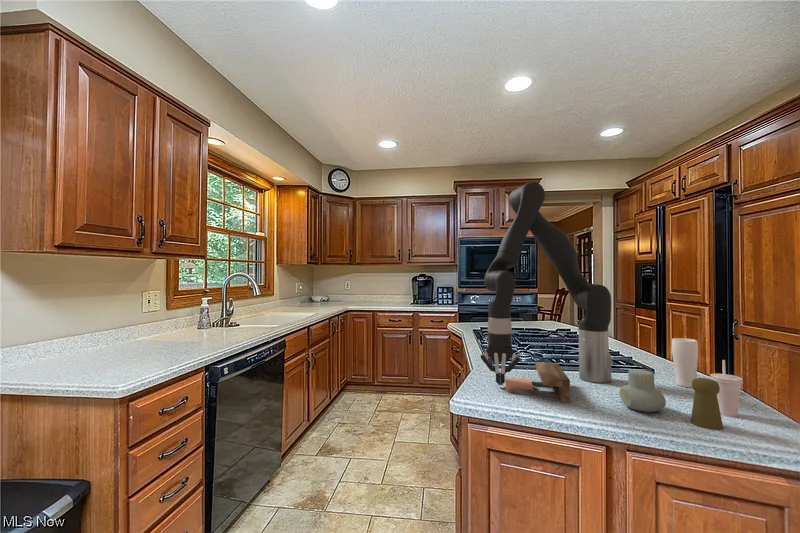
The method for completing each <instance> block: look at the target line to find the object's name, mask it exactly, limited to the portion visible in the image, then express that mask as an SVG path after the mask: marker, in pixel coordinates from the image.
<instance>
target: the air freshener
mask: <svg viewBox="0 0 800 533" xmlns="http://www.w3.org/2000/svg"><path fill="white" fill-rule="evenodd" d="M627 372H628V375H627V376H628V379H627V380H628V382H627V383H628V384H625V385H624V386H622V387H620V388H619V391H618V392H619V398H620V400H621V402H622V404H624V405H625V406H627V407H628V408H629V409H630V410H634V411H637V412H644V413H654V412H655V413H656V412H659V411H661V410H663V409H664V408H665V407H666V406H667V401H666V398H665V396H664V395H663V393H662V392H661V391H660V390H659V389H657V388H656V387H655V386H656V384H655V374H654V372H652V371H649V370H645V369H639V368H638V369H629V370H628V371H627Z"/></svg>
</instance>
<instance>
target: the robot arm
mask: <svg viewBox="0 0 800 533" xmlns="http://www.w3.org/2000/svg"><path fill="white" fill-rule="evenodd" d="M508 198H509V205H510V206H511V209H512V210H513V211H514V213H515V214H516V215H515V217H514V220H513V221H512V222H511V224H510V226H509V227H508V229H507V230H506V232H505V234H504V236H503V237H502V240H501V242H500V245H499V248H498V250H497V252H496V255H495V258H494V260H493V261H492V262H491V264H490V265H489V267H488V269H487V270H486V272H485V274H484V278H483V279H484V280H483V284H484V287H485V289H487V291H490V292H496V293H495V298H493V299H491V300H489V302H488V320H487V348H486V351H485V352H484V353H482V354H481V355H480V360H482V361H483V364H485V365H486V367H487V368H488V369H489V371H490V372H493V373H495V383H496V384H497V385H498V386H503V384H505V377H506V376H505V375H506V374H507V373H510V372H511V371H512V370H513V369H514V368H515V366H517V364H518V363H519V362H520V361H521V358H520V356H519V355H517V354H516V353H514V350H513V346H512V345H513V343H512V342H513V341H512V339H513V337H512V336H513V335H512V333H513V329H512V327H513V326H512V318H511V317H512V316H511V313H512V312H511V311H512V310H511V304H512V302H513V297H514V293H515V289H516V279H515V276H514V275H513V273H512V272H511V271H509V269H511V268H514V267H515V266H517V264H518V261H519V258H520V255H521V253H522V249H523V246H524V243H525V240H526V238H527V236H528V233H529V232H530V233H531V235H532V236H533V237H534V238H535V241H537V243H538V245H539V246H540V248H541V249H542V251H543V253H544V255H545V256H546V257H547V259H548V260H549V262H550V263H551V264H552V266H553V267H554V269H555V271H556V272H557V274H558V275H559V276H560V278H561V279H562V281H563V283H564V285H565V286H566V289H567V291H568V292H569V295H570V296H571V298H572V300H573V302H574V303H575V304H576V305H577V307H579V308H581V309H583V310H585V316H584V317H583V319H580V320H579V321H578V323H577V324H578V367H579V369H578V372H579V373H578V374H579V379H581V380H583V381H585V382H586V381H587V382H590V383H612V355H611V353H610V352H609V350H610V348H609V345H610V343H609V326H610V323H611V320H612V296H611V292H610V290H609V289H608V288H607V287H606V286H605V285H602V284H595V283H594V284H593V283H589V281H587V279H586V278H585V276H584V275H583V273H582V272H581V270H580V267H579V260H578V259H579V258H578V253H577V249H576V248H575V246H574V245H573V243H572V241H571V240H570V238H569V237H568V235H567V234H566V233H565V232H564V231H563V230H562V229H560V228H559V227H558V226H557V225H555V224H553V223H552V222H550V221H548V220H547V219H546V218H545V217H544V216H543V215H542V213H541V211H540V210H541V207H542V206H543V203H544V201H545V199H546V192H545V189H544V187H543V186H542V185H541V184H540V183H539V182H537V181H530V182H526V183H524V184H522V185H520V186H519V187H517V188H516V189H514V190H512V191H511V193H510V195H509V197H508ZM489 358H490V360H491V361H493V363H494V365H493V364H492V363H491V362H490V360H489ZM510 359H511V362H510V363H509V364H508V365H507V367H506V363H507V362H509V361H510Z"/></svg>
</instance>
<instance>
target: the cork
mask: <svg viewBox="0 0 800 533" xmlns="http://www.w3.org/2000/svg"><path fill="white" fill-rule="evenodd" d="M692 389H693V391H694V393H693V394H694V396H693V403H692V409H691V417H690V423H692V425H694V426H697V427H699V428H704V429H707V430H712V431H713V430H715V431H716V430H717V431H719V430H720V431H721V430H723V429H724V425H723V420H722V414H720V409H719V403H718V398H717V394H718V393H719V391H720V387H719V384H718V383H717V382H716V381H714V380H712V379H710V378H705V377H696V378H695V379H693V381H692Z"/></svg>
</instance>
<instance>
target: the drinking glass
mask: <svg viewBox="0 0 800 533" xmlns="http://www.w3.org/2000/svg"><path fill="white" fill-rule="evenodd" d="M698 342H699V341H698V340H696V339H692V338H687V337H686V338H682V337H674V338H671V355H672V362H673V369H674V377H675V379H674V380H675V384H676V385H677V386H680V387H683V388H692V389H693V387H692V381H693V379H695V378H697V373H698V364H699V363H698V361H699V360H698V359H699V343H698Z"/></svg>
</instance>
